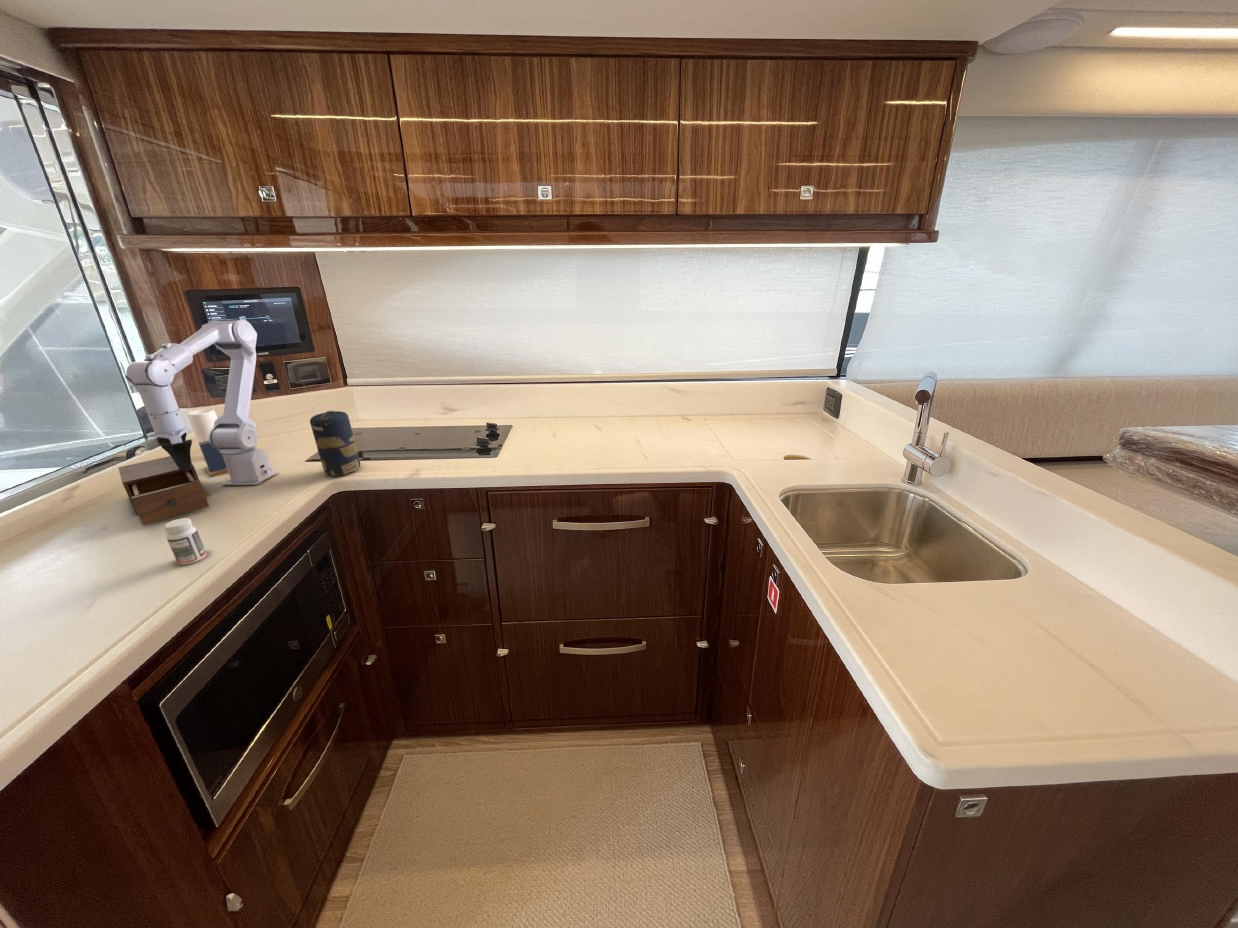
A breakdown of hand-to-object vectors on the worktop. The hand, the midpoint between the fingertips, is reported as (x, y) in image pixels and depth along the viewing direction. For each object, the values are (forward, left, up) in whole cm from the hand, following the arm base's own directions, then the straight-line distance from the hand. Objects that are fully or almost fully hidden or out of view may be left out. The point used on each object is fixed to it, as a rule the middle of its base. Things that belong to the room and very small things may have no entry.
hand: (183, 465), depth 123 cm
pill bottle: (-21, +26, -11) cm, 35 cm away
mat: (+13, -25, -11) cm, 30 cm away
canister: (-26, -20, -11) cm, 35 cm away
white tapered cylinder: (+25, -35, -11) cm, 44 cm away
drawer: (+3, +4, -10) cm, 11 cm away
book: (+13, -25, -10) cm, 30 cm away
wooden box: (+13, -5, -11) cm, 17 cm away
